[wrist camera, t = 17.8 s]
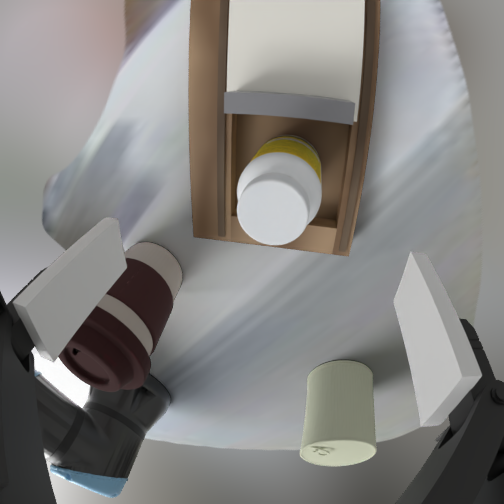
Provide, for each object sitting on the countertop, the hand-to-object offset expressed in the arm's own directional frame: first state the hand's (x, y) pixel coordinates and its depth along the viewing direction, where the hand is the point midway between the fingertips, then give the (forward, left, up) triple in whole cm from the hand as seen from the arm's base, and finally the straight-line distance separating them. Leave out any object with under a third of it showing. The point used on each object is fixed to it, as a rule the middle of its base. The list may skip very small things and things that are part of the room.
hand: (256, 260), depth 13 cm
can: (+10, -28, -15) cm, 33 cm away
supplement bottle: (0, 0, -14) cm, 14 cm away
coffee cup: (-14, -13, -15) cm, 24 cm away
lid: (0, +10, -12) cm, 16 cm away
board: (-1, +4, -15) cm, 15 cm away
